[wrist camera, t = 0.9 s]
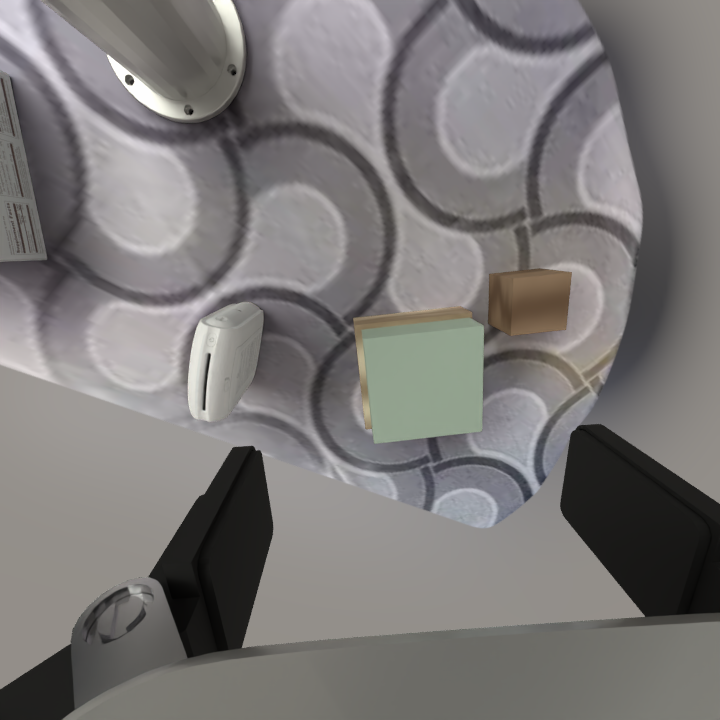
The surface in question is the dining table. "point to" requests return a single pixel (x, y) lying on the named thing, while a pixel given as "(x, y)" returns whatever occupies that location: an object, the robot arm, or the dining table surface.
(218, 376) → the photo printer
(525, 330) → the walnut cube
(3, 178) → the supplement box
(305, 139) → the dining table surface
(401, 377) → the sage top block
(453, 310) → the maple base block
